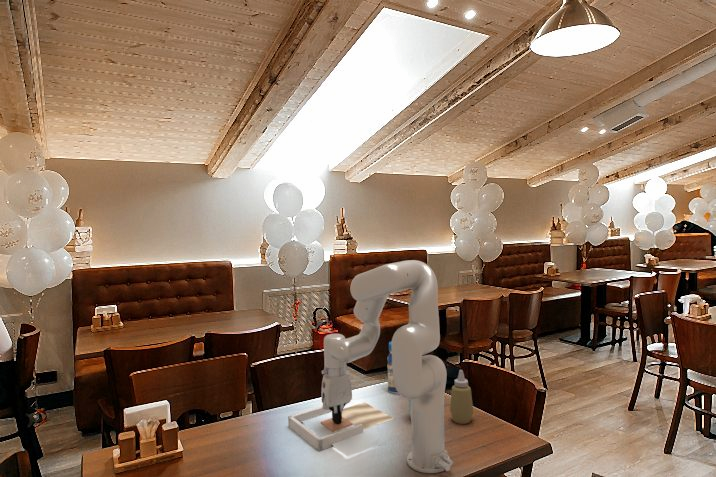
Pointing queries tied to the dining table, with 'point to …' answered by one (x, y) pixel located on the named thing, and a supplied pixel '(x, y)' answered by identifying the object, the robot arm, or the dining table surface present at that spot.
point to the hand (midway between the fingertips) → (337, 422)
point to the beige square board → (365, 415)
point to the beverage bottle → (390, 372)
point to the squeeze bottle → (461, 400)
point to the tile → (334, 426)
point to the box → (314, 439)
